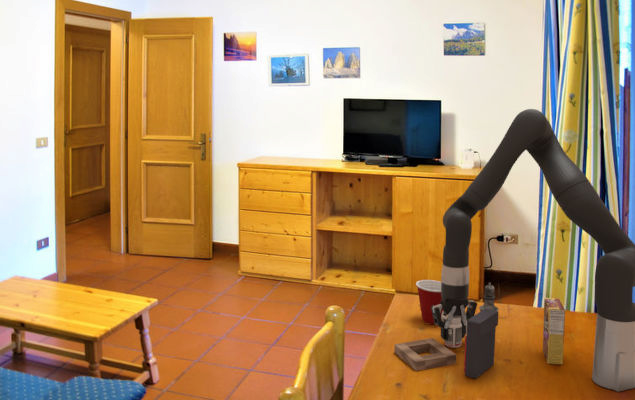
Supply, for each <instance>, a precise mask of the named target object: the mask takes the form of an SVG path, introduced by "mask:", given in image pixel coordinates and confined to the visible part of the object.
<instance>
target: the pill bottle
mask: <svg viewBox="0 0 635 400" xmlns="http://www.w3.org/2000/svg"><path fill="white" fill-rule="evenodd" d="M447 316H448V315H447ZM462 342H463V338H462V323H461V316H457V315H456V316H453V317H452V320H451V321H450V323H449V326H448V340H447V341H445V340H444V346H445V347H447V348H454V349H455V348H457V349H458V348H460V347H461V346H462V345H463V343H462Z"/></svg>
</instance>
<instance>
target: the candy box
mask: <svg viewBox="0 0 635 400" xmlns="http://www.w3.org/2000/svg"><path fill="white" fill-rule="evenodd" d="M565 322H566V309H565V308H564V306H563V303H562V302H561V300H560V298H555V297H553V298H551V297H544V303H543V332H542V333H543V334H542V335H543V336H542V352H543V354H544V357H545V361H546V364H549V365H563V364H564V363H563V362H564V361H563V360H564V348H565V347H564V345H565V343H564V342H565V339H564V338H565Z"/></svg>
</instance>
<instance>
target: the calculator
mask: <svg viewBox="0 0 635 400" xmlns="http://www.w3.org/2000/svg"><path fill="white" fill-rule="evenodd" d="M498 325H499V310H498V311H495V310H491V309H484V310H482V311H481V312H480V311H479V312H478V313H475V315H474V316H473V317H471V318H470V319H468V320H467V322H466V335H465V337H464V359H463V360H464V362H463V364H464V365H463V373H465V374H464V375H465V377H469V378H471V379H475V380H476V379H477V378H479V377H480V376H482V375H483V374H484V373H485V372H487V371H488V370H489V369H491V367H493V366H494V364H495V351H496V350H495V349H496V348H495V347H496V346H495V345H496V329H497V326H498Z"/></svg>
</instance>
